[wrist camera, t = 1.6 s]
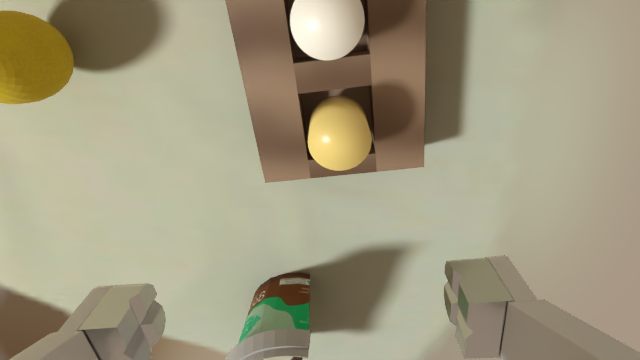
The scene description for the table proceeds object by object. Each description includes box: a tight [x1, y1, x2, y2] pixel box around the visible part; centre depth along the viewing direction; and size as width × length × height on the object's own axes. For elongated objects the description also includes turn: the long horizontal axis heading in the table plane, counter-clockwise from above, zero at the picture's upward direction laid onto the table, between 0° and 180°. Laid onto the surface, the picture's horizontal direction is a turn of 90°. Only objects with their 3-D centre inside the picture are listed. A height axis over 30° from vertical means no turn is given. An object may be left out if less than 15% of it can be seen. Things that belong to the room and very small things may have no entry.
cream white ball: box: [290, 0, 365, 61], centre depth 21 cm, size 4×4×4 cm
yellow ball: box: [308, 96, 372, 171], centre depth 25 cm, size 4×4×4 cm
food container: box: [226, 273, 311, 360], centre depth 35 cm, size 12×6×10 cm, turn 165°
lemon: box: [0, 11, 74, 104], centre depth 23 cm, size 6×6×8 cm
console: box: [225, 0, 426, 183], centre depth 24 cm, size 22×12×4 cm, turn 7°
